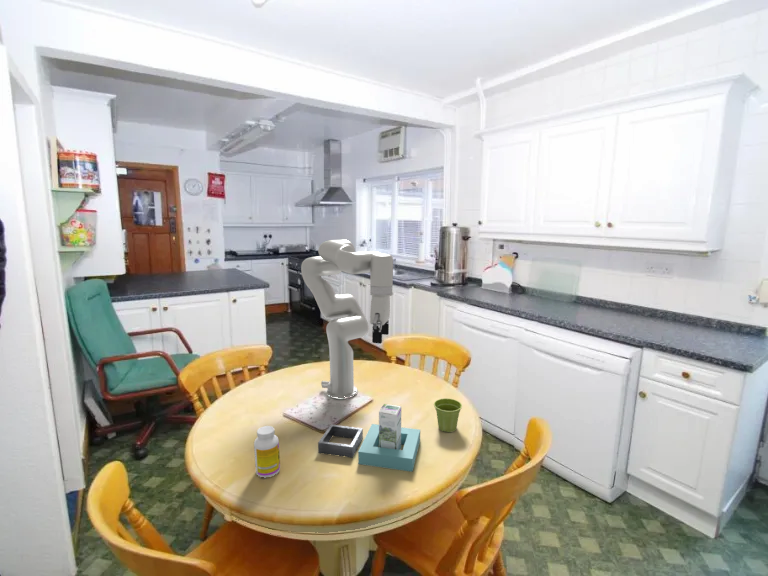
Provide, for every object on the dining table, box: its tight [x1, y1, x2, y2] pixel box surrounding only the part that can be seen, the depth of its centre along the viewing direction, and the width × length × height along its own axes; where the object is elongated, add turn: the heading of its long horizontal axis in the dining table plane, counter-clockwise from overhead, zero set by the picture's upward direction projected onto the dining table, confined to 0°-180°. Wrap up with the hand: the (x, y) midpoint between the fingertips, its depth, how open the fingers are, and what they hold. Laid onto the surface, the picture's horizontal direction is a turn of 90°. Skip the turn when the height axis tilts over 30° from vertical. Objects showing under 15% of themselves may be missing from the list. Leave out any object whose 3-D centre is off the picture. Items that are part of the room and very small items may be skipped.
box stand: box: [317, 424, 364, 459], centre depth 124 cm, size 11×11×4 cm
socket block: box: [357, 423, 421, 473], centre depth 120 cm, size 16×16×4 cm
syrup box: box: [378, 403, 402, 450], centre depth 120 cm, size 6×6×14 cm
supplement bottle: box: [253, 425, 281, 479], centre depth 110 cm, size 7×7×13 cm
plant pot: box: [433, 398, 463, 433], centre depth 134 cm, size 9×9×9 cm
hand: (380, 338), depth 137 cm, fingers open, 9 cm apart
